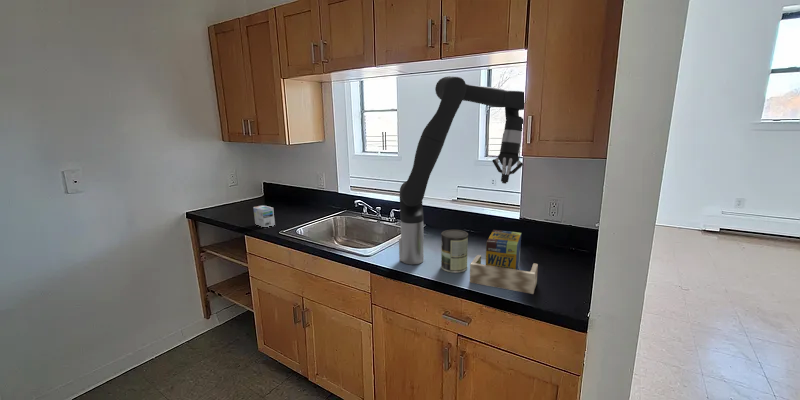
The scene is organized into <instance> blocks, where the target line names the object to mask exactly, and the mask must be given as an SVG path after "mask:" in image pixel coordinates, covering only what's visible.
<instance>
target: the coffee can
mask: <svg viewBox="0 0 800 400" xmlns="http://www.w3.org/2000/svg"><path fill="white" fill-rule="evenodd" d="M440 236H441V239H440V240H441V250H440V251H441V252H440V253H441V255H440V256H441V261H440V262H441V264H440V268H441V270H442V271H445V272H447V273H451V274H452V273H453V274H455V273H456V274H457V273H462V272H465V271H467V270H468V247H469V246H468V242H469V241H468V238H469V233H468V232H467V231H465V230H463V229H445V230H443V231H442V232H441V233H440Z"/></svg>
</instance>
